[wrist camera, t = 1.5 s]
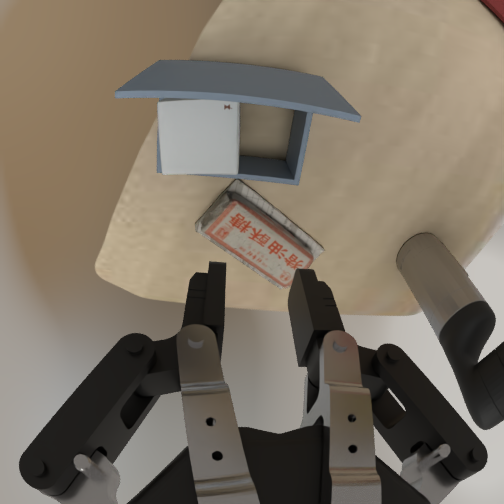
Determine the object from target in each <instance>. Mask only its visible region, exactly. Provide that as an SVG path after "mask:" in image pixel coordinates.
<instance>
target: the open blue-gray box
mask: <svg viewBox="0 0 504 504" xmlns="http://www.w3.org/2000/svg"><path fill="white" fill-rule="evenodd" d="M162 99H164V98H159V101H160V100H162ZM312 115H313V113H311V112H305V111H300V110H295V111H294V117H293V122H292V128H291V134H290V139H289V145H288V150H287V156H286V161H284V160H277V159H268V158H260V157H251V156H241V155H239V168H238V174H237V175H221V174H187V175H201V176H214V177H226V178H236V179H247V180H256V181H266V182H274V183H283V184H291V185H299V181H300V176H301V171H302V166H303V161H304V156H305V151H306V146H307V141H308V136H309V131H310V126H311V120H312ZM157 173H162V168H161V157H160V145H159V131H158V137H157Z"/></svg>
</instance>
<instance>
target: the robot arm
mask: <svg viewBox="0 0 504 504" xmlns="http://www.w3.org/2000/svg"><path fill="white" fill-rule="evenodd" d="M397 267H398V269H399V271H400V273H401V274H402V276H403V278H404V279H405V281H406V283H407V284H408V286H409V288H410V289H411V291H412V293H413V294H414V296H415V298H416V300H417V301H418V303H419V305H420V307H421V308H422V310H423V312H424V314H425V315H426V317H427V319H428V321H429V323H430V325H431V326H432V328H433V330H434V332H435V334H436V336H437V338H438V340H439V342H440V344H441V346H442V347H443V349H444V352H445V354H446V356H447V358H448V360H449V363H450V365H451V367H452V369H453V372H454V374H455V376H456V379H457V381H458V384H459V387H460V390H461V392H462V395H463V398H464V401H465V403H466V406H467V409H468V411H469V413H470V415H471V417H472V419H473V421H474V422H475V423H476V425H477V426H479V427H480V428H481V429H483V430H487V429H491V428H492V427H494V426H496V425H497V424H499V423H500V422H502V421H503V420H504V342H502V343H501V344H500V345H499V346H498V347H497V348H496V350H495V349H494V350H493V351H492V352H491V353H489V354H488V355H487V356H486V357H485V358H483V359H482V360H481V361H480V362H478V359H479V356H480V353H481V351H482V349H483V347H484V345H485V344H486V342H487V340H488V339H489V337H490V335H491V334H492V331H493V329H494V326H495V322H496V318H495V314H494V312H493V311H492V309H491V308H490V306H489V305H488V303H487V302H486V301H485V300H484V298H483V296H482V295H481V294H480V292H479V291H478V289H477V288H476V287H475V286H474V284H473V283H472V282H471V280H470V279H469V278H468V274H467V273H466V271H465V270H464V269H463V267H462V266H461V265H460V264H459V262H458V261H457V260H456V259H455V257H454V256H453V255H452V254H451V252H450V251H449V250H448V249H447V248H446V246H445V245H444V244H443V243H440V241H439V240H438V239H437V238H436V237H435V236H434V235H432V234H428V233H422V234H419V235H416V236H414V237H412V238H411V239H409V240H408V241H407V242H406V243H405V244H404V245H403V247H402V248H401V250H400V251H399V253H398V257H397ZM225 285H226V263H223V262H211V261H209V269H208V273H199V272H196V273H195V274H194V275H193V277H192V278H191V279H190V282H189V287H188V293H187V299H186V305H185V312H184V319H183V324H182V328H181V330H180V331H179V332H178V333H177V334H176V335H175V336H173V337H171V338H168V339H165V340H159V341H152V340H151V339H150V338H149V337H148V336H146V335H143V334H139V333H132V334H128V335H126V336H124V337H123V338H121V339H120V340H119V341H118V342H117V344H116V345H115V346H114V347H113V348H112V349H111V350H110V351H109V352H108V354H107V355H106V356H105V357H104V358H103V359H102V360H101V361H100V363H99V364H98V365H97V366H96V367H95V368H94V370H92V372H91V373H90V374H89V375H88V376H87V377H86V379H85V380H84V381H83V382H82V383H81V384H80V385H79V387H78V388H77V389H76V390H75V391H74V392H73V394H72V395H71V396H70V397H69V398H68V399H67V401H66V402H65V403H64V404H63V405H62V407H61V408H60V409H59V410H58V411H57V413H56V414H55V415H54V416H53V417H52V418H51V420H50V421H49V422H48V423H47V424H46V426H45V427H44V428H43V429H42V431H41V432H40V433H39V434H38V435H37V437H36V438H35V439H34V440H33V442H32V443H31V444H30V445H29V447H28V448H27V449H26V450H25V452H24V453H23V454H22V456H21V458H20V461H19V469H20V473H21V476H22V477H23V479H24V480H25V482H26V483H27V484H29V485H30V486H31V487H33V488H35V489H37V490H39V491H40V492H41V493H43V494H45V495H47V496H49V497H51V498H54V499H56V500H57V501H58V502H60V503H61V504H118V503H117V500H116V492H117V489H118V487H119V484H120V475H119V472H118V470H117V469H116V468H115V466H114V465H113V463H114V461H115V460H116V459H117V457H118V455H119V454H120V453H121V451H122V450H123V449H124V447H125V446H126V444H127V443H128V441H129V440H130V439H131V437H132V436H133V434H134V433H135V431H136V430H137V429H138V427H139V426H140V424H141V423H142V421H143V420H144V419H145V417H146V416H147V414H148V413H149V411H150V410H151V409H152V407H153V406H154V404H155V403H156V401H157V400H158V398H159V397H160V395H163V394H168V393H173V392H179V391H181V394H182V403H183V411H184V419H185V427H186V434H187V440H188V446H187V447H186V448H185V449H184V450H183V451H182V452H181V453H180V454H179V455H178V456H177V457H176V458H175V459H174V460H173V461H172V462H171V463H170V464H169V465H167V466H166V467H165V469H163V470H162V471H161V472H160V473H159V474H158V475H157V476H156V477H155V478H154V479H153V480H152V481H151V482H150V483H149V484H148V485H147V486H146V487H145V488H143V489H142V490H141V491H140V492H139V493H138V494H137V495H136V496H135V497H134V498H133V499H131V500H130V501H129V502H128V503H127V504H439V503H440V502H441V501H442V500H443V499H444V498H445V497H446V496H447V495H448V494H449V493H450V492H451V491H452V490H453V489H454V487H456V485H457V484H458V483H459V482H460V481H462V480H464V479H466V478H468V477H470V476H471V475H473V474H475V473H477V472H478V471H480V470H482V469H483V468H484V467H485V465H486V462H487V458H488V455H487V450H486V448H485V446H484V444H482V442H481V441H480V440H479V438H478V437H477V436H476V435H475V433H474V432H473V431H472V430H471V429H470V427H469V426H468V425H467V424H466V422H465V421H464V420H463V419H462V418H461V417H460V415H459V414H458V413H457V412H456V411H455V409H454V408H453V407H452V406H451V405H450V403H449V402H448V401H447V400H446V399H445V398H444V396H443V395H442V394H441V393H440V392H439V391H438V390H437V389H436V387H435V386H434V385H433V384H432V383H431V382H430V380H429V379H428V378H427V377H426V376H425V375H424V373H423V372H422V371H421V370H420V369H419V368H418V367H417V366H416V364H415V363H414V362H413V361H412V360H411V359H410V358H409V357H408V356H407V354H406V353H405V352H404V351H403V350H402V349H401V348H399V347H398V346H396V345H393V344H383V345H381V346H380V347H379V348H378V350H372V349H368V348H365V347H361V346H359V345H357V343H356V340H355V339H354V338H353V337H352V336H351V335H349V334H348V333H346V332H345V329H344V326H343V323H342V320H341V317H340V314H339V311H338V308H337V307H336V302H335V300H334V296H333V294H332V291H331V289H330V288H329V287H328V285H327V284H326V283H325V282H323V281H318V280H317V277H316V274H315V271H314V270H313V269H300V268H297V269H296V271H295V274H294V278H293V281H292V285H291V289H290V292H289V297H288V310H289V315H290V321H291V326H292V332H293V338H294V344H295V349H296V355H297V361H298V366H299V367H307V371H308V373H307V375H306V377H305V386H304V409H303V419H302V423H301V426H300V428H299V429H296V430H292V431H289V432H285V433H282V434H277V433H272V432H267V431H262V430H258V429H254V428H249V427H238V425H237V421H236V416H235V412H234V407H233V403H232V399H231V394H230V390H229V386H228V384H227V383H225V381H224V376H223V372H222V367H221V353H222V343H223V332H224V316H225ZM388 388H390V390H391V391H392V392H393V393H394V394H395V396H396V397H397V398H398V399H399V401H400V402H401V403H402V404H403V406H404V407H405V410H406V412H405V411H404V410H403V408H402V407H401V406H400V405H399V403H398V402H397V401H396V400H395V398H394V397H393V396H392V395H391V394H390V392H389V391H388ZM373 425H374V426H375V428H376V429H377V430H378V432H379V433H380V434H381V436H382V437H383V438H384V440H385V441H386V442H387V443H388V445H389V446H390V447H391V449H392V450H393V451H394V453H395V454H396V455H397V457H398V458H399V459H400V461H401V462H402V463H403V464H402V471H401V473H400V476H399V475H398V474H397V473H396V472H395V471H393V470H392V469H391V468H390V467H389V466H388V465H386V464H385V463H384V462H383V461H382V460H381V459H379V458H378V457H377V456H376V455H375V445H374V428H373Z"/></svg>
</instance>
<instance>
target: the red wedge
mask: <svg viewBox="0 0 504 504" xmlns="http://www.w3.org/2000/svg"><path fill="white" fill-rule="evenodd" d="M481 1H482V2H484V3H485V4H486V5H487V6H488V7H489V8H490V9H491V10H492V11H493V12H494V13H495V14H496V15H497V16H498V17H499V18H500V19H501V20H502V21H503V23H504V0H481Z"/></svg>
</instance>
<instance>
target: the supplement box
mask: <svg viewBox="0 0 504 504" xmlns="http://www.w3.org/2000/svg"><path fill="white" fill-rule="evenodd" d="M157 113H158V131H159V145H160V157H161V168H162V175H176V174H221V175H237V174H238V168H239V145H240V102H231V101H219V100H205V99H187V98H164V99H162V100H160V101H159V102H158V103H157Z"/></svg>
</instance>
